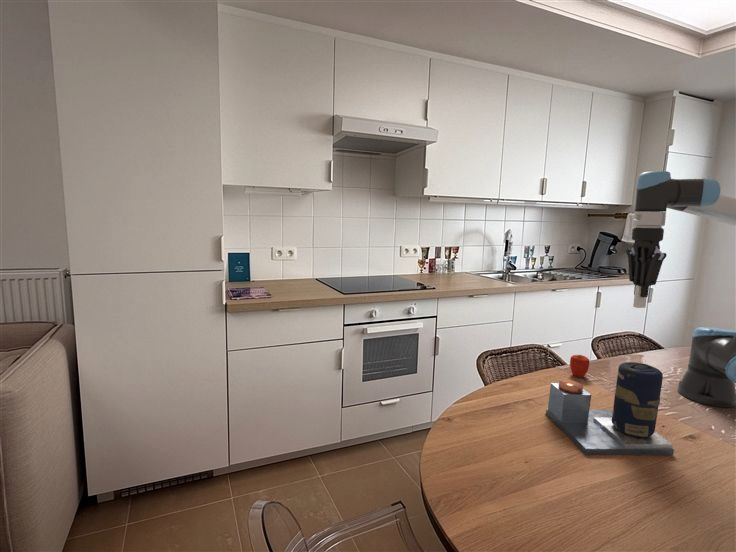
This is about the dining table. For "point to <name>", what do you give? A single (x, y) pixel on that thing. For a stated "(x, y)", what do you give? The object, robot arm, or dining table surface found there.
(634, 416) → the canister
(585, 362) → the apple
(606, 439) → the grey l-shaped stand
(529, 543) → the dining table surface
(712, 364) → the robot arm
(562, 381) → the pin
